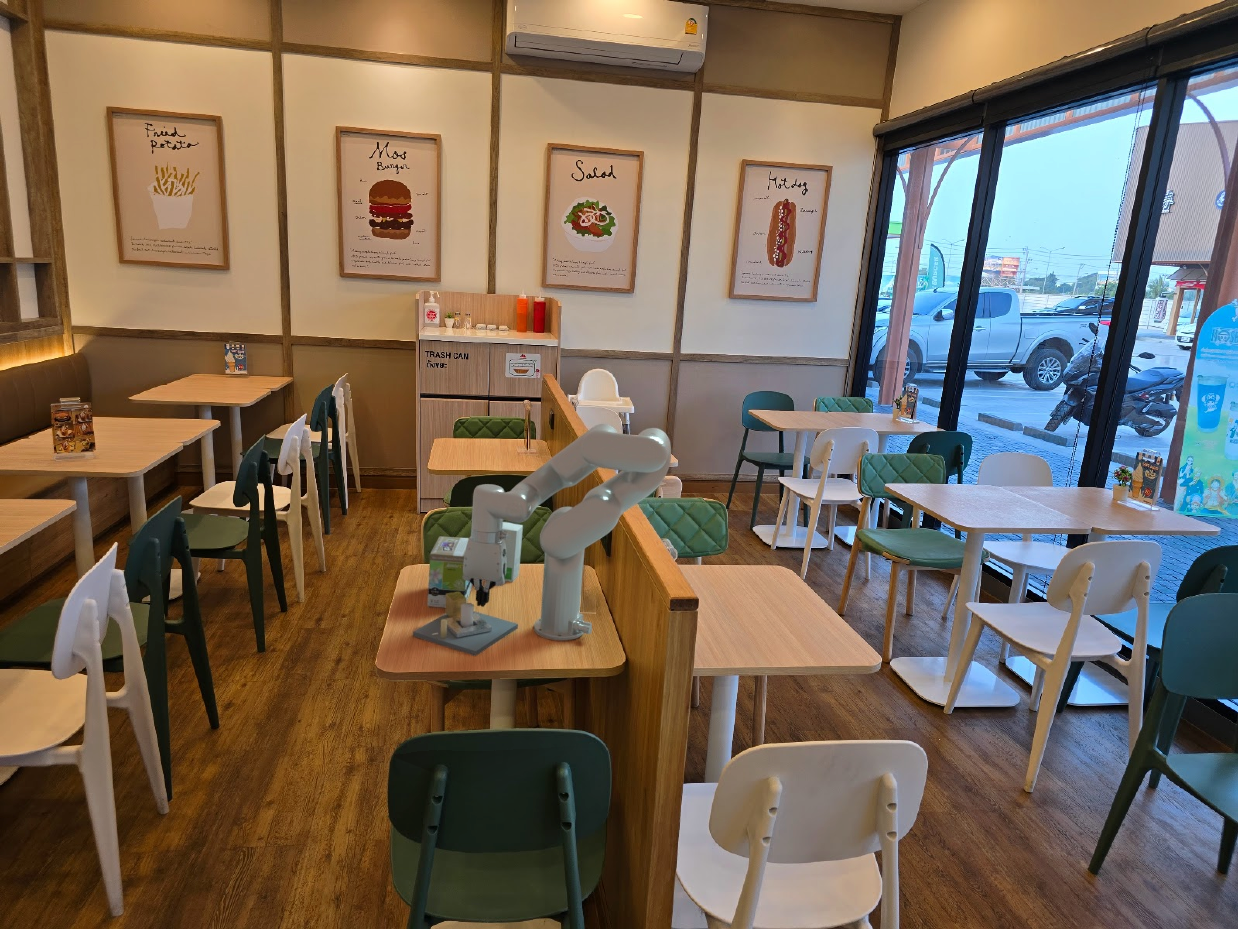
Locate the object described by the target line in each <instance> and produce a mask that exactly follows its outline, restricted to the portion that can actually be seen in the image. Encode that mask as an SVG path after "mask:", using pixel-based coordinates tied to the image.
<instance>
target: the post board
mask: <svg viewBox="0 0 1238 929" xmlns="http://www.w3.org/2000/svg"><path fill="white" fill-rule="evenodd" d="M474 608H475V605H474V604H473V603H471V602H466V603H464V604H462V605H461V624H459V625H460V626H461V627H462V628H465V627H470V626H475V625H474V624H473V614H474V613H477V614H478V615H479V616H480V617H481V618H482V619H483V620H485V621H486V622H487V623H488V624H489V625H490V626H491V627H492V631H488V632H483V633H478V634H473V635H468V636H463V637H458V638H457V637H456V636H455V635H454V634H453V633H452V632H451V631H450V630H449V629H448V628H447V620H446V618H450V617H449V616H448V615H446V614H442V615H441V616H439V617H437V618H435V619H433V620H432V621H430V622H428V623H426V624H424V625H423V626H420V627H418V628H417V629H415V630H413V631H412V637H415V638H417V639H421V640H423V641H424V640H425V641H427V642H430V643H433V644H436V645H439V646H443V647H445V648H449V649H453V650H455V651H457V652H461V653H465V654H468V655H471V656H473V657H474V656H475V657H476V656H478V655H479V654H480V653H482V652H484V651H486V649H488V648H490V647H492V646H493V645H495V644H496V643H498V642H499V641H501V640H502V639H504V638H505V637H507V636H509V635H510V634H511V633H512V632H514V631H516V630H517V629H519V623H517V622H513V621H510V620H506V619H504V618H503V619H502V618H499V617H497V616H492V615H489V614H485V613H482V612H479V611H475V610H474Z"/></svg>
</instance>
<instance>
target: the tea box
mask: <svg viewBox="0 0 1238 929" xmlns="http://www.w3.org/2000/svg"><path fill="white" fill-rule="evenodd" d="M468 539H469V537H456V536H455V537H454V536H442V535H441V536H438V538H437V539H436V542H435V543H434V545H433V548H432V549H431V551H430V554H429V565H428V585H427V586H428V587H427V588H428V590H427V607H430V608H432V607H433V608H434V607H435V608H444V609H445V607H446V594H447V593H453V592H460V593H461V594H463V595H464V596H465V597H466V603H468V602H467V601H468V598H469V596H470V593H471V590H472V589H473V585H472V584H471V582H469V581H466V580H464V579H463V578H462V577H463V563H464V556H465V550H466V546H467V542H468Z"/></svg>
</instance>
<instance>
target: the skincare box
mask: <svg viewBox="0 0 1238 929" xmlns="http://www.w3.org/2000/svg"><path fill="white" fill-rule="evenodd" d="M502 529H503V532H505V533H507V534H508V537H507V539H502V540H505V545H506V557H507V570H506V575H505V576H504V579H505V582H510V583H513V582H515V580H516V579H517V578H518V577H519V575H520V564H521V552H522V540H523V529H524V525H523V524H519V523H513V522H507V521H506V522H505V521H503V528H502Z"/></svg>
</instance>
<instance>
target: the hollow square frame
mask: <svg viewBox="0 0 1238 929" xmlns="http://www.w3.org/2000/svg"><path fill="white" fill-rule="evenodd" d="M464 603H467V602H466V597H465V596H464V595H463V594H461V593H460V592H453V593H447V594H446V607H445V608H444V609H445V610H444V611H445V612H444V613H445V614H446V615H448V616H449V617H450V618H446V620H447V628H448V629H449V630H450V631H451V632H452V633H453V634H454V635H455V636H456V637H457V638H458V637H463V636H468V635H473V634H478V633H483V632H488V631H492V627H491V626H490V625H489V624H488V623H487V622H486V621H485V620H483V619H482V618H481V617H480V616H479V615H478V614H477V613H474V614H473V624H474V625H475V626H470V627H465V628H462V627H461V626H460V625H459V624H461V605H462V604H464Z"/></svg>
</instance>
